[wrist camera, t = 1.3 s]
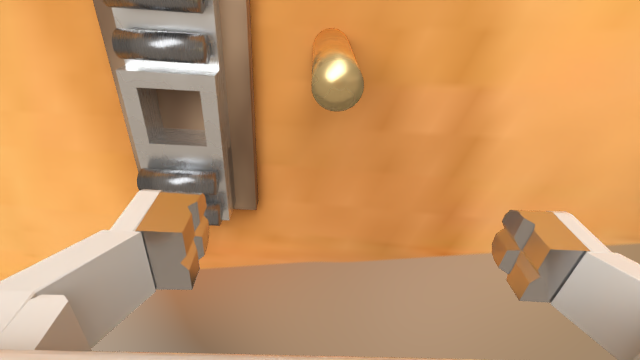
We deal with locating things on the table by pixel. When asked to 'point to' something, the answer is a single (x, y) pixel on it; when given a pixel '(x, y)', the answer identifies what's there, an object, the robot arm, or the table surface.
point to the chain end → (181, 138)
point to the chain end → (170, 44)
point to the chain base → (186, 105)
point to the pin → (335, 72)
